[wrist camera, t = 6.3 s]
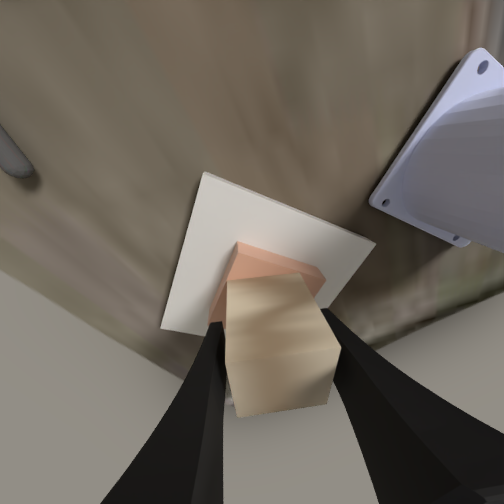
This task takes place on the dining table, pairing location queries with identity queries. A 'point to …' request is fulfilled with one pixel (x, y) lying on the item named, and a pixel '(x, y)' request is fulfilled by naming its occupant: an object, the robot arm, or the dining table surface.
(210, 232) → the base plate
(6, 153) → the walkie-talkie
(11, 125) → the dining table surface
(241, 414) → the birch block
